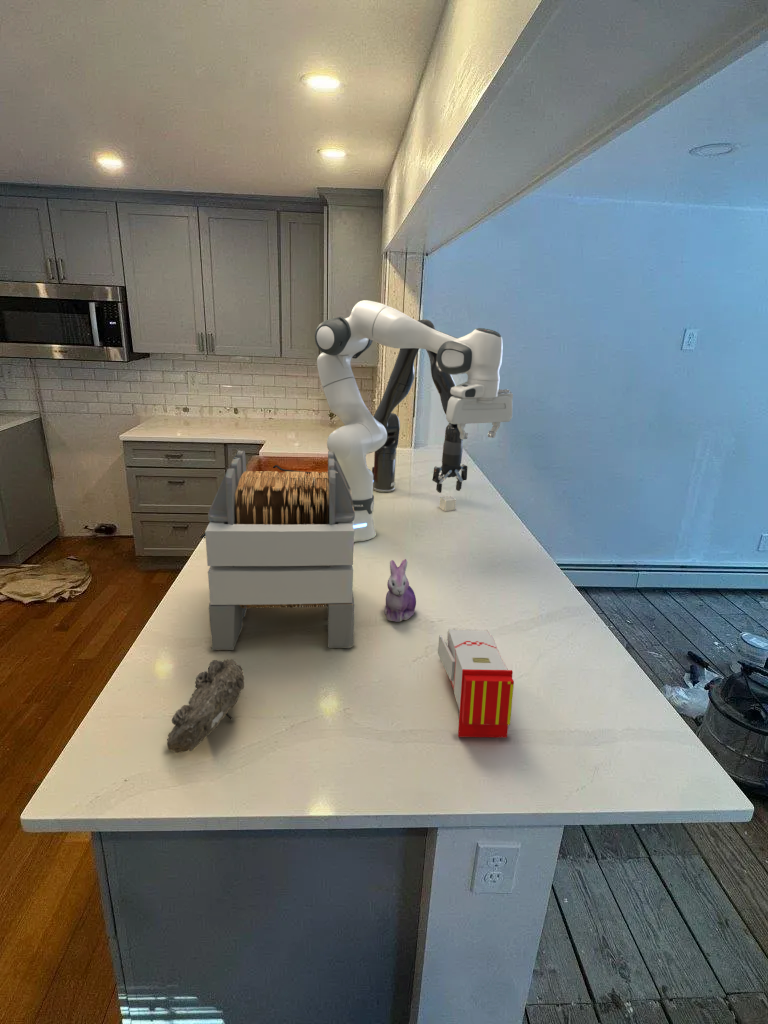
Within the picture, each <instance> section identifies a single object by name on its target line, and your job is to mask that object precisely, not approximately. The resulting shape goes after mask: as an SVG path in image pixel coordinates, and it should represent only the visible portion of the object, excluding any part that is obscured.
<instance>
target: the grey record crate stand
mask: <svg viewBox="0 0 768 1024" xmlns="http://www.w3.org/2000/svg"><path fill="white" fill-rule="evenodd" d="M246 461H247V459H246V450H240V449H238V450H237V452H236V454H235V456H234V457H233V458H232V461H231V463H230V465H229V467H228V468H227V469H226V472H225V473H224V476H223V478H222V480H221V483H220V486H219V487H218V489H217V491H216V494H215V496H214V498H213V501H212V503H211V504H210V508H209V509H208V512H207V518H208V521H209V523H208V525H207V527H206V529H205V531H204V533H205V549H206V565H207V567H209V569H208V571H207V577H208V592H209V603H208V616H209V617H208V618H209V630H210V636H211V647H210V649H211V651H218V652H219V650H222V651H228V650H229V651H234V649H235V647H236V645H237V642H238V640H239V636H240V634H241V632H242V629H243V619H245V618H246V613H247V609H252V608H253V609H267V608H268V609H273V608H275V609H276V608H278V609H279V608H282V609H283V608H284V609H285V608H290V609H291V608H317V607H318V608H323V607H324V608H326V611H327V613H326V614H327V642H328V643H327V647H328V649H333V648H334V649H335V648H336V649H351V648H352V647H354V636H355V635H354V633H355V628H354V627H355V599H354V598H355V597H354V591H353V589H354V588H353V587H354V586H353V585H354V567H353V566H354V552H355V551H354V549H355V547H354V546H355V542H354V527H353V520H354V519H355V511H354V506H353V500H352V494H351V488H350V486H349V484H348V482H347V480H346V478H345V475H344V473H343V471H342V469H341V467H340V465H339V462H338V460H337V458H336V456H335V454H334V452H331V451H327V471H321V472H319V471H303V472H288V471H287V472H286V471H284V472H279V471H277V470H276V471H273V470H272V471H271V470H265V471H263V470H256V471H253V470H247V462H246ZM307 472H308V474H307ZM309 472H310V474H309ZM319 473H320V475H319Z"/></svg>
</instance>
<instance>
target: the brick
mask: <svg viewBox="0 0 768 1024" xmlns="http://www.w3.org/2000/svg"><path fill="white" fill-rule="evenodd" d="M456 503H457V499H456V498H454V497H452V496H451V495H447V496H440V497H439V507H438V508H439V509H441V510H442V511H444V512H450V511H451V512H452V511H455V510H456Z"/></svg>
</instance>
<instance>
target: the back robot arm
mask: <svg viewBox="0 0 768 1024" xmlns="http://www.w3.org/2000/svg"><path fill="white" fill-rule="evenodd" d="M417 321H419V322H420V323H422V324H424V325H426V326H428V327H430V328H433V329H435V330H437V329H436V327H435V325H434V323H433V322H432V321H431V320H429V319H425V318H424V319H418V320H417ZM419 350H420V348H399V351H398V354H397V357H396V359H395V363H394V365H393V369H392V371H391V373H390V376H389V379H388V382H387V384H386V387H385V390H384V392H383V395H382V397H381V400H380V402H379V403H378V407H377V409H376V410H375V413H374V414H373V417H374V418H375V419H376V420H377V421H378V422H380V423H381V424H382V425H383V426H384V427H385V429H386V432H387V440H386V442H385V444H384V445H383V446H382V447H381V448H379V449H378V450H377V451H375V452H373V454H374V455H373V456H374V458H373V460H374V461H373V462H374V463H373V466H372V468H371V471H372V473H373V491H375V492H378V493H391V492H394V491H395V485H396V481H395V480H396V462H397V449H398V446H399V440H400V439H399V438H400V431H401V430H400V429H401V422H400V418H399V416H398V414H396V413H394V412H393V411H394V410H395V409H396V407H397V406H398V405H399V404H401V402H402V401H403V400H404V399H405V398H406V397H407V396H408V395H409V393H410V391H411V389H412V386H413V383H414V381H415V380H414V379H415V374H416V373H415V360H416V357H417V355H418V352H419ZM425 351H426V353H427V355H428V358H429V365H430V375H431V380H432V382H433V384H434V386H435V389H436V390H437V392H438V394H439V398H440V402H441V407H442V411H443V413H444V415H446V412H447V406H448V401H449V399H450V397H452V396H454V395H451V393H450V391H451V388H452V387H454V386H457V385H456V382H455V380H454V379H453V375H451V374H447V373H445V372H443V371H442V370H441V369H440V368H439V366H438V363H437V353H434V352H432V351H429V350H426V349H425ZM463 428H464V429H465V427H463ZM443 440H444V442H443V446H442V457H441V466H434V467H433V474H432V478H431V480H432V482H434V483H435V484H436V489H435V490H436V491H437V493H439V494H441V493H442V491H443V483H444V481H445V480H446V479H447V478H448V479H449V478H455V479H456V484H455V490H456V491H458V492H461V490H462V485H463V482H464V481H467V479H468V465H466V464H464V463H462V459H463V458H462V457H463V448H464V439H460V431H459V429H458V427H457V424H452V423H449V422H448V424H447V426H446V427H445V432H444V439H443ZM461 464H462V465H461ZM272 468H273V469H275V468H276V469H278V470H279V471H280V472H285V471H286V472H287V471H288V472H304V471H301V470H295V469H294V470H293V469H285V468H282V467H280V466H279V465H278V464H274V465H273V466H272ZM460 471H461V473H460ZM306 472H307V475H308V472H309V475H310V472H311V471H306ZM320 473H321V472H319V476H320Z"/></svg>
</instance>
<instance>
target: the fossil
mask: <svg viewBox="0 0 768 1024" xmlns="http://www.w3.org/2000/svg"><path fill="white" fill-rule="evenodd" d="M243 670H244V669H243V667H242V665H240V664H237V662H236V661H235V660H234V659H232V658H231V659H227V658H226V659H224V660H223V661H222V660H217V659H212V660H211V661H210V663H209V665H208V666H207V671H201V672H199V673H198V674H197V675H196V676H195V680H194V684H195V685H194V687H195V689H194V690H193V693H192V694H191V697H190V698H189V700H188V704H184V705H182V706H181V707H180V709H177V710H176V711H175V713H174V715H173V716H172V718H171V723H172V724H173V727H172V730H171V731H170V732H168V734H167V738H166V741H167V742H166V745H167V749H168V750H169V751H173V752H174V753H176V754H178V753H182V752H188V751H189V752H192V751H193V750H195V748H196V747H197V746H199V744H200V743H201V742H203V741H204V740H205V739H206V738H207V737H208V736H209V735H210V734H211V733H212V732H214V730H215V729H217V727H218V726H219V724H220V722H221V721H222V720H223V719H224V718H225V716H226V717H227V719H229V720H233V717H232V715H230V714H229V710H230V709H231V708H234V706H235V704H236V703H237V702H238V699H239V697H240V695H241V693H242V691H243V690H245V689H244V688H245V675H244V671H243Z"/></svg>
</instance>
